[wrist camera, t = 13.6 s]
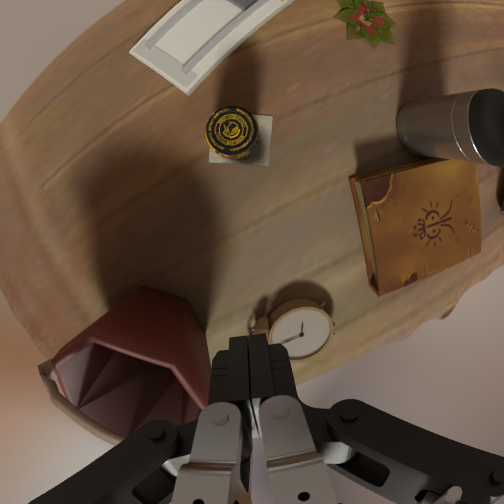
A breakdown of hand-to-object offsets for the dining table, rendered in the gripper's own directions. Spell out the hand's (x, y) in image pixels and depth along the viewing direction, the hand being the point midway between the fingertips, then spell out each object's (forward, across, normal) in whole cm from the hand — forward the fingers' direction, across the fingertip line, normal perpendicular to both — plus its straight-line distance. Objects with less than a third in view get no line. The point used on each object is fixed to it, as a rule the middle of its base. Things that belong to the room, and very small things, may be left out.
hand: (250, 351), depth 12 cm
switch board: (+32, 0, -30) cm, 44 cm away
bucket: (+32, +18, +18) cm, 41 cm away
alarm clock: (+32, -4, +22) cm, 39 cm away
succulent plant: (+33, -24, -29) cm, 50 cm away
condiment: (+32, -1, -10) cm, 34 cm away
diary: (+33, -29, +5) cm, 44 cm away
